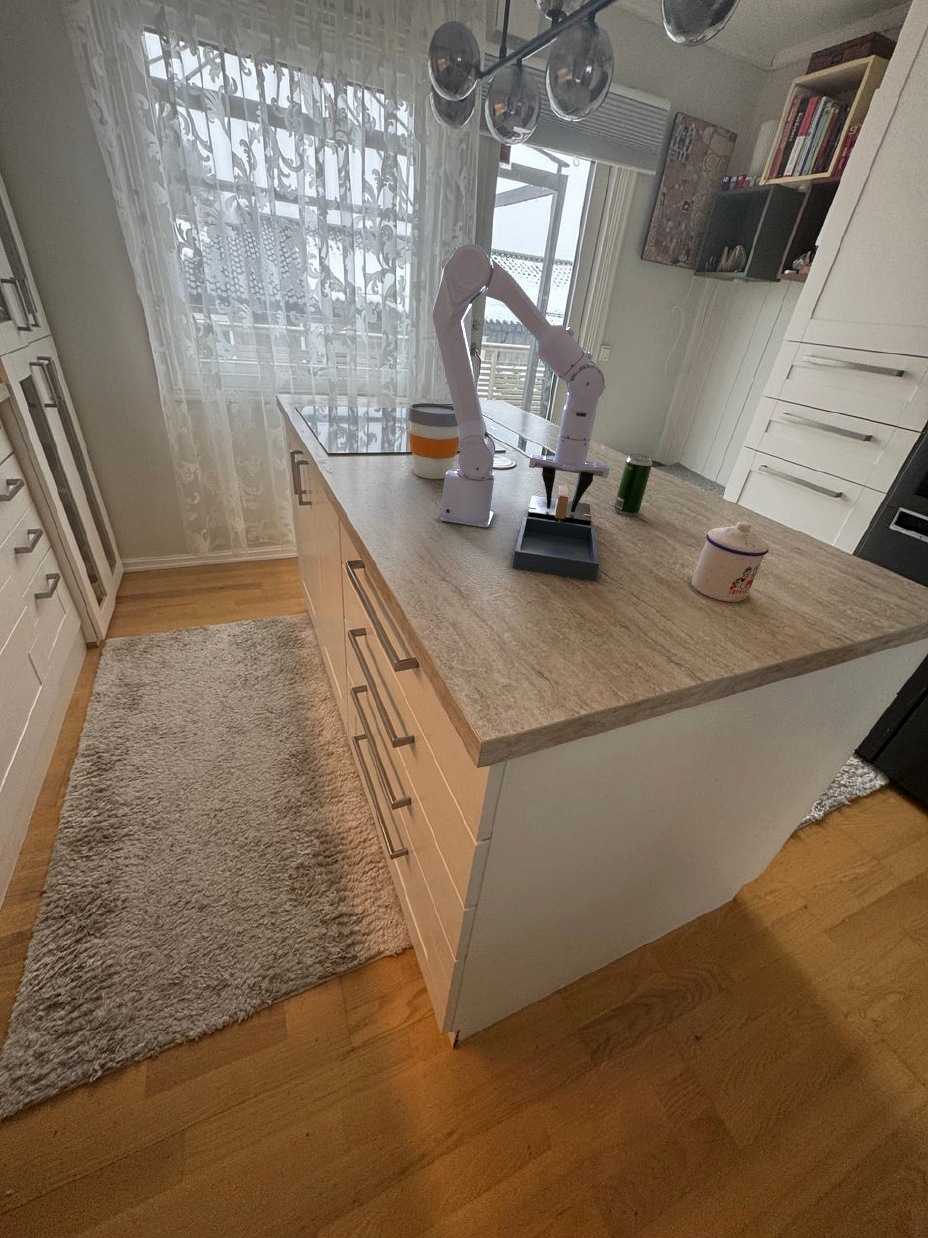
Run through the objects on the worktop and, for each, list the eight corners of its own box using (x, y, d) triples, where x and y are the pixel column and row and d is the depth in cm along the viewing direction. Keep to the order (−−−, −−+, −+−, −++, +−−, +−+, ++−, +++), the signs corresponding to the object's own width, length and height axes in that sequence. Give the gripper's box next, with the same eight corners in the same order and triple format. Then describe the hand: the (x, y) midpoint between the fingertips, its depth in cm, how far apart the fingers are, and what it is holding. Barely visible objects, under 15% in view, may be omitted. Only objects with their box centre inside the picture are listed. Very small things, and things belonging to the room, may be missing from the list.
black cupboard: (528, 511, 109) (531, 494, 107) (586, 519, 108) (590, 503, 106) (523, 535, 98) (526, 517, 96) (588, 545, 96) (592, 526, 94)
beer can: (627, 517, 111) (642, 461, 105) (608, 509, 115) (622, 454, 109) (643, 514, 114) (659, 459, 108) (624, 506, 118) (638, 452, 111)
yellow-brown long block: (555, 504, 104) (559, 483, 101) (564, 505, 103) (568, 484, 101) (554, 517, 97) (558, 496, 95) (564, 519, 97) (568, 497, 95)
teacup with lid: (734, 609, 80) (764, 539, 74) (679, 586, 85) (703, 519, 79) (762, 588, 87) (791, 523, 81) (710, 567, 92) (734, 505, 86)
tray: (512, 568, 85) (515, 550, 84) (520, 531, 99) (523, 515, 98) (595, 581, 84) (599, 564, 82) (591, 541, 98) (595, 526, 96)
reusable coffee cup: (457, 483, 121) (462, 416, 113) (403, 478, 120) (405, 410, 112) (458, 468, 131) (463, 405, 124) (409, 463, 131) (411, 400, 123)
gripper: (533, 435, 90) (521, 510, 97) (617, 446, 89) (599, 521, 96) (535, 427, 96) (524, 498, 103) (614, 438, 95) (597, 508, 102)
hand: (560, 508), depth 100 cm, fingers open, 4 cm apart
